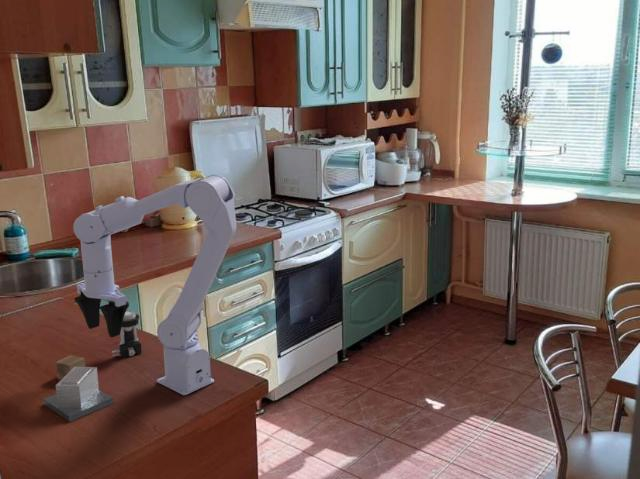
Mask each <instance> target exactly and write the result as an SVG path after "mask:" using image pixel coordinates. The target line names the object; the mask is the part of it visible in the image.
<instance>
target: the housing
mask: <svg viewBox="0 0 640 479" xmlns="http://www.w3.org/2000/svg"><path fill="white" fill-rule="evenodd" d="M99 388H100V387H99V376H98V367H97V366H85V367H74V368H73V369H72V370H71V371H70V372H69V373H68V374H67V375H66V376H65V377H64V378H63V379H62V380H59V381H58V383H56V384H55V391H56V393H55V394H57V401H58V407H70V408H82V407H83V405H84V404H85V403H86V402H87V401H88V400H89V398H90V397H91V396H92V395H93V394H94V393H95V392H96V390H97V389H99Z"/></svg>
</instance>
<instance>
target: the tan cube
mask: <svg viewBox="0 0 640 479" xmlns="http://www.w3.org/2000/svg"><path fill="white" fill-rule="evenodd" d="M85 359H86V358H85V357H80V356H76V355H73V354H70V355H68V356H66V357H64V358H62V359H59V360H57V361H56V362H55V366H56V374H57V379H58V380H59V379H63V378H64V377H65V376H66V375H67V374H68V373H69V372H70V371H71V370H72V369H73V368H74V367H86V360H85Z"/></svg>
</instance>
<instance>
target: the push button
mask: <svg viewBox="0 0 640 479" xmlns="http://www.w3.org/2000/svg"><path fill="white" fill-rule="evenodd" d="M139 320H140V315H139V314H137V313H136V312H135V311H133V310H126V312H125V315H124V318H123V322H122V327H121V332H120V335H119V336H120V342H119V344H118V345H117V346H118V349H116V350H113V351H111V353H112V357H116V356H120V357H121V358H125V357H131V356H132V357H133V356H134V355H141V354H142V353H143V352H142V351H143V350H142V343H141V342H140V341H139V338H138V332H137V325H138V324H139ZM114 353H115V354H114Z"/></svg>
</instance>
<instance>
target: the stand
mask: <svg viewBox="0 0 640 479" xmlns="http://www.w3.org/2000/svg"><path fill="white" fill-rule="evenodd" d="M113 404H114V397H113V396H112V395H109V394H107V393H106V392H104V391H102V390H101V389H99V388H98V389H97V390H96V392H95V393H94V394H93V395H92V396H91V397H90V398H89V400H88V401H87V402H86V403H85V404H84V405H83V407H82V408H70V407H58V401H57V393H55V394H53V395H50V396H48V397H45V398H43V405H44V406H46V407H47V408H49V409H50V410H52V411H53V412H55V413H56V414H58V415H59V416H60V417H62V418H63V419H65V420H66V421H67V422H69V423H70V422H73V421H76V420H78V419H80V418H83V417H84V416H87V415H90V414H92V413H95V412H96V411H98V410H101V409H104V408H106V407H109V406H110V405H113Z"/></svg>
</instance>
